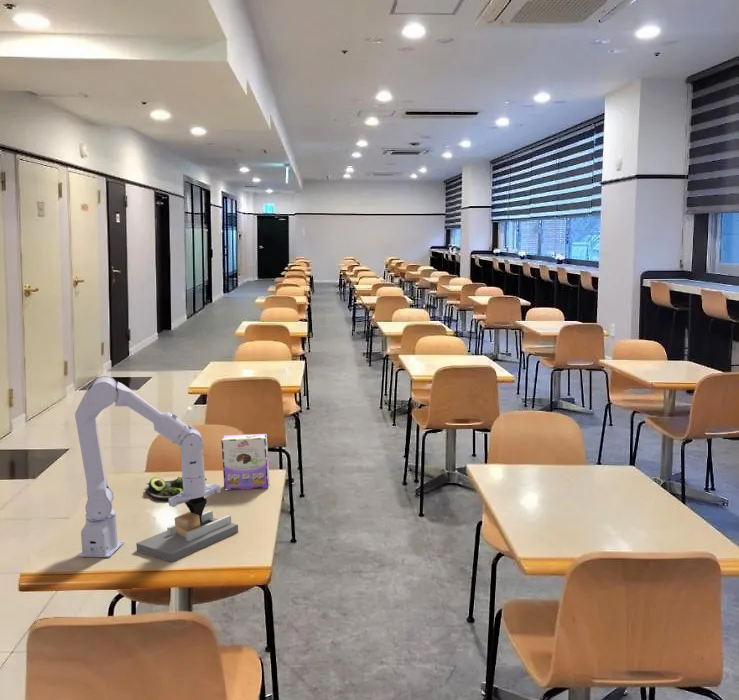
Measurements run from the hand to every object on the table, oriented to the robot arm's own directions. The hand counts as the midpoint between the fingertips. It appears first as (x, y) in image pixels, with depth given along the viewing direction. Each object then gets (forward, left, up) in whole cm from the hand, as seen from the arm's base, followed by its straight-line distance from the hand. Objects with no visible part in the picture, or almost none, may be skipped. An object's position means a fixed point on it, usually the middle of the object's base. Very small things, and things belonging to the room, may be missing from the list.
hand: (197, 525), depth 209 cm
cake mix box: (+41, -3, -4) cm, 42 cm away
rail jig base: (-3, +2, -3) cm, 4 cm away
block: (-2, +2, -1) cm, 3 cm away
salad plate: (+37, +19, -4) cm, 41 cm away
